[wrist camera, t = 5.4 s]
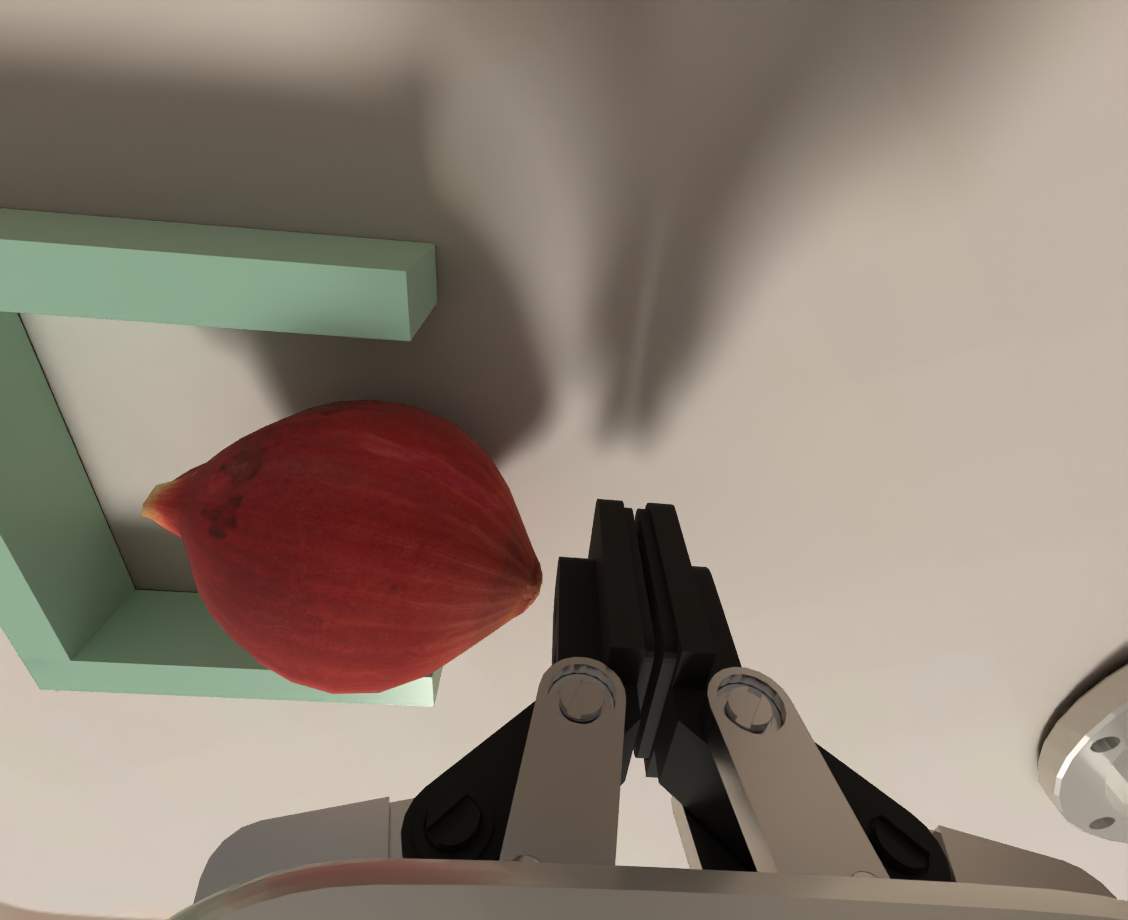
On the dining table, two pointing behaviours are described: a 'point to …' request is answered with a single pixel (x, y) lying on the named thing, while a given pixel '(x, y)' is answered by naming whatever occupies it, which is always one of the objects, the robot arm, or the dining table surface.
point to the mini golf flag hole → (55, 473)
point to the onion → (353, 544)
